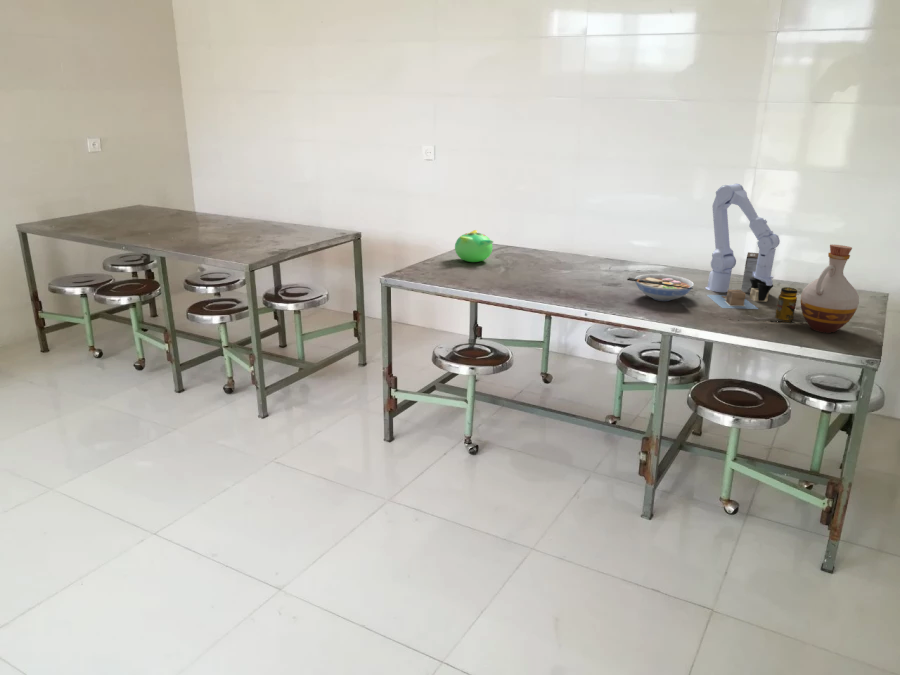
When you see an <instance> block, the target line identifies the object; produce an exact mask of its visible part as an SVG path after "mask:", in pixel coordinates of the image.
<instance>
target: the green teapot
mask: <svg viewBox="0 0 900 675" xmlns="http://www.w3.org/2000/svg"><path fill="white" fill-rule="evenodd" d="M493 243H494V240H492V239H490V237H488V236H487V235H485V234H484V233H480V232H478V230H477V229H475V230H472V231H470V232H467V233H464V234H462V235H460V236H459V237H458V238H457V239H456V241H455V244H454V251H455V253H456V256H458V257H459V259H461V260H463V261H465V262H469V263H479V262H482V261H486V260H487V259H488V258H489V257H490V256H491V255H492V252H493V250H494V249H493V247H494V246H493Z"/></svg>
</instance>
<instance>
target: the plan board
mask: <svg viewBox="0 0 900 675" xmlns="http://www.w3.org/2000/svg"><path fill="white" fill-rule="evenodd" d="M706 296H707V297H708V298H710V299H711V300H712V301H713V302H714V303H715V304H716V305H718V306H719V307H720V308H721V309H748V310H749V309H750V310H759V308H758V307H757V306H756V305H754V304H753V303H752V302H750V301H749V300H748V299H746V298H745V301H744V306H735V305H729V304H728V303H727V302H726V298H727V294H725V295H724V294H706Z"/></svg>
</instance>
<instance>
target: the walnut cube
mask: <svg viewBox="0 0 900 675" xmlns="http://www.w3.org/2000/svg"><path fill="white" fill-rule="evenodd" d="M746 293H747V292H743V291H742V290H741V289H729V290H728V292H726V295H727V298H726V302H727V303H728V304H729V305H735V306H744V301H745V299H746V295H747V294H746Z"/></svg>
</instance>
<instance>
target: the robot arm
mask: <svg viewBox="0 0 900 675" xmlns="http://www.w3.org/2000/svg"><path fill="white" fill-rule="evenodd" d="M731 205H736V206H738V207H739V209H741V211H742V213H743V214H744V215H745V216H746V219H748V221H749V225H748V226H749V228H750V230H751V231H752V233H753V236H755V238H756V240H757V242H756V243H757V247H758V253H759V254H758V260H757V265H756V271H755V272H753V273H752V276H753V277H754V278H751V279H750V281H751V284H752V288H758V290H759V294H758V300H759V301H758V302H765V301H764V300H765V298H766V296H767V294H768V292H769V293H770V291H771V290H772V289H773V287H774V283H773V282H774V281H773V280H772V279H774V276H773V275H772V271H773V265H774V260H775V256H776V255H775V254H776V248H777V247H779V245H780V244H781V243H780V242H781V241H780V237H779V235H778V234H776V233H774V230H771V228H770V227H769V225H768V220H767V219H764V217H760V216H759V215H758V214H757V211H756V210H755V208H754V206H753V204H752V202H751V201H750V199H749V197H748V192H747V190H745V189H744V187H743V185H742V184H740V183H734V184H724V185H721V186H720V187H719V188H718V189H717V190H716V191H715V198H714V200H713V203H712V208H711V209H712V217H713V218H712V220H713V232H714V233H713V234H714V244H715V249H714V251H713V253H712V255H711V261H710V268H711V271H710V272H709V275H708V281H707V286H705V290H709V291H712V292H716V293H727V292H728V290H730V283H731V276H732V271H733V268H735V267H736V264H737V258H736V257H735V255H734V251H733V249H732V248H731V247H730V245H731V244H730V231H729V220H728V219H729V218H728V216H729V215H728V208H729V207H730V206H731Z"/></svg>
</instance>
